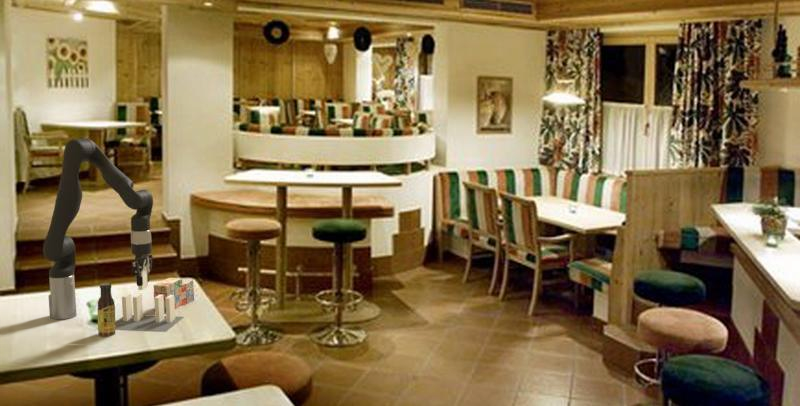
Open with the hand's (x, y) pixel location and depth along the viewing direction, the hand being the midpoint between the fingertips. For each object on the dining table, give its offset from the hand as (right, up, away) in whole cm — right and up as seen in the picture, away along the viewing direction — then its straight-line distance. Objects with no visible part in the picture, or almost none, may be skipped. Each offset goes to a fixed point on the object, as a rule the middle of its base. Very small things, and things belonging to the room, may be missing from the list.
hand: (142, 283), depth 298 cm
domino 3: (0, -2, 0) cm, 2 cm away
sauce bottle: (-10, -19, -9) cm, 23 cm away
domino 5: (+9, -16, +7) cm, 19 cm away
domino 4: (+4, -16, +8) cm, 18 cm away
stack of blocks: (+4, -13, +28) cm, 32 cm away
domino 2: (-5, -15, +8) cm, 18 cm away
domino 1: (-9, -15, +9) cm, 20 cm away
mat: (-1, -17, +4) cm, 17 cm away
